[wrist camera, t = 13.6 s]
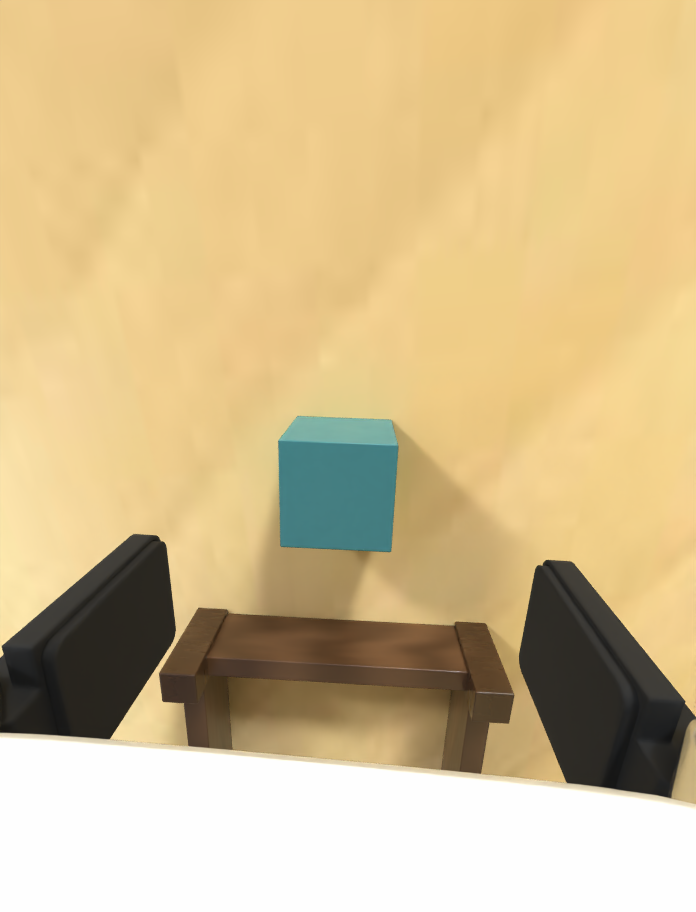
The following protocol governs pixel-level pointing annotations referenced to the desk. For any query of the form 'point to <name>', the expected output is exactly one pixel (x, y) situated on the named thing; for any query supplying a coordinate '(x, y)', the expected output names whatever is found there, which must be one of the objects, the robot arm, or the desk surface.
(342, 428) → the teal block
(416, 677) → the wooden frame
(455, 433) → the desk surface
